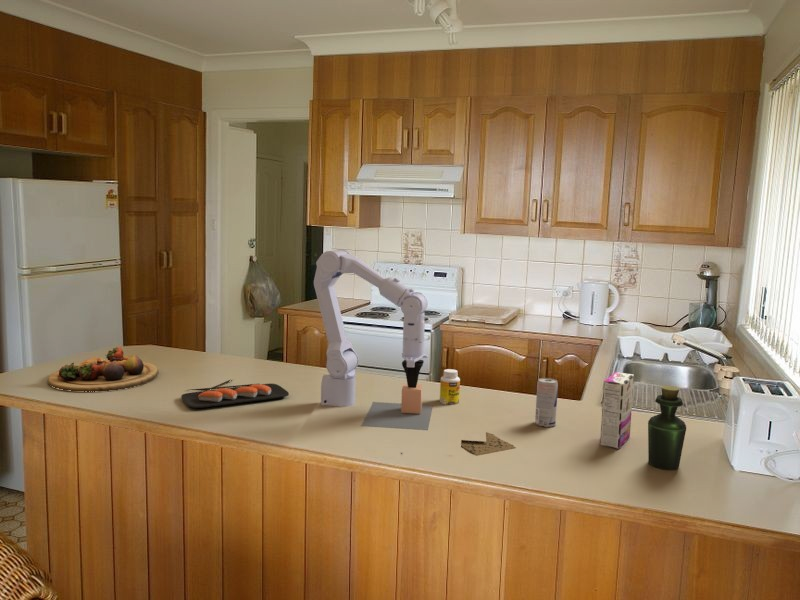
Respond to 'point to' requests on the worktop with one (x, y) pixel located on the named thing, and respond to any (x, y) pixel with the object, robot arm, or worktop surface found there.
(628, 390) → the candy bar box
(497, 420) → the worktop surface
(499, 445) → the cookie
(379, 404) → the mat
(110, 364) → the wooden plate with food
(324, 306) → the robot arm
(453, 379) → the supplement bottle
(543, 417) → the energy drink
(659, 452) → the potion bottle
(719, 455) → the worktop surface
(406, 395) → the salmon pink block
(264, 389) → the sushi plate
